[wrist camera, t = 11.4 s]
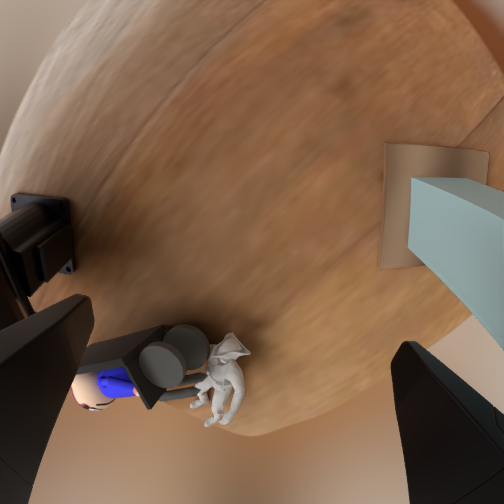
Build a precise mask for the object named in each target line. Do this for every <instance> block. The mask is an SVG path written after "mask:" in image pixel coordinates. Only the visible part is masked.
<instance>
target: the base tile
mask: <svg viewBox="0 0 504 504" xmlns="http://www.w3.org/2000/svg"><path fill="white" fill-rule="evenodd" d="M488 160H489V152H486V151H483V150H475V149H467V148H458V147H448V146H437V145H424V144H408V143H385V142H384V181H383V203H382V219H381V231H380V242H379V252H378V261H377V266H378V267H379V269H390V268H401V267H412V266H422V265H425V264H424V263H423V262H422V261H421V260H420V259H419V258H418V257H417V256H416V255H415V254H414V253H413V252H412V251H411V250H410V249H409V248H408V237H409V224H410V205H411V177H440V178H468V179H470V180H473V181H476V182H479V183H482V184H484V185H486V182H487V172H488Z"/></svg>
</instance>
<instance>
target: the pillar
mask: <svg viewBox="0 0 504 504" xmlns="http://www.w3.org/2000/svg"><path fill="white" fill-rule="evenodd" d="M408 248H409V249H410V250H411V251H412V252H413V253H414V254H415V255H416V256H417V257H418V258H419V259H420V260H421V261H422V262H423V263H424V264H425V265H426V266H427V267H428V268H429V269H430V270H431V271H433V272H434V273H435V274H436V275H437V277H438V278H439V279H440V280H441V281H442V282H443V283H444V284H445V285H446V286H447V287H448V288H449V289H450V290H451V291H452V292H453V293H454V294H455V295H456V296H457V297H458V298H459V299H460V300H461V302H462V303H463V304H464V305H465V306H466V307H467V308H468V309H469V310H470V311H471V312H472V314H473V315H474V316H475V317H476V318H477V319H478V320H479V321H480V323H481V324H482V325H483V326H484V327H485V328H486V330H487V331H488V332H489V333H490V334H491V335H492V337H493V338H494V339H495V340H496V341H497V343H498V344H499V345H500V346H501V347H502V349H503V350H504V192H503V191H500V190H497V189H495V188H492V187H490V186H487V185H484V184H482V183H479V182H476V181H473V180H470V179H468V178H440V177H411V205H410V224H409V237H408Z"/></svg>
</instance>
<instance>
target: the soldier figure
mask: <svg viewBox="0 0 504 504" xmlns="http://www.w3.org/2000/svg"><path fill="white" fill-rule="evenodd" d="M209 345H210V353H209V359H208V361H209V363H208V366H207V368H206V373H207V374H206V375H209V376H208V377H207V378H206V379H205V380H204V381H203V382H198V383H197V384H196V385H195V387H196V388H198V389H201V391H200V392H199V393H198V394H197V395H198V396H199V399H197V400H194V401H193V402H192V403H191V404H190V407H191V408H198V407H199V406H200V405H203V404H207V403H209V399H208V396H207V392H206V391H208V390H209V388H211V387H214V389H215V391H214V396H213V400H212V412H213V413H214V416H212V417H210V418H208V419H207V420H206V421H205V423H204V425H205V426H206V427H210V426H212V425H213V424H214V423H215V422H217V421H218V420H221V419H222V416H223V415H224V417H223V419H222V420H221V421H220V422H219V423H221V422H222V423H221V424H223V425H225V424H228V423H229V422H230V421H231V420H232V418H233V417H234V415H235V413H236V412H237V411H238V409H239V406H240V404H241V402H242V400H243V397H244V393H245V387H244V380H243V379H244V378H243V374H242V373H243V372H242V370H241V368H240V367H239V365H238V364H237V362H236V361H235V360H236V359H237V358H238V357H239V356H242V355H250V354H251V353H250V351H249V350H247V349H246V348H245V347H244V346H243V345H242V344H241V342H240V341H239V340H238V339H237V338H236V337H235V335H234V334H233V332H232V333H229V334H226V336H225V338H224V340H223V341H222V342H221V343H219V344H218V345H215V344H212V345H211V344H209ZM232 388H234V390H235V392H234V395H233V399H232V402H231V407H230V410H229V411H228V412H226V413H223V414H222V412H223V409H224V405H225V403H226V401H227V399H228V397H229V395H230V393H231V391H232Z"/></svg>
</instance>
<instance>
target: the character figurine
mask: <svg viewBox="0 0 504 504" xmlns="http://www.w3.org/2000/svg"><path fill="white" fill-rule="evenodd" d="M209 353H210V345H209V342H208V339H207V337H206V336H205V335H204V333H203V332H202V331H201V330H199V329H198V328H196V327H194V326H192V325H188V324H180V325H176V326H174V327H173V328H172V329H171V330H170V331H168V332H166V331H165V330H164V328H163V326H162V325H161V326H158V327H154V328H151V329H147V330H144V331H140V332H137V333H133V334H129V335H126V336H122V337H118V338H115V339H111V340H107V341H103V342H99V343H96V344H92V345H89V346H88V347H86V349H85V352H84V355H83V358H82V361H81V364H80V366H79V369H78V372H77V374H76V376H75V378H74V381H73V383H72V385H71V387H70V389H69V393H70V395H71V397H72V398H73V399H74V401H75V402H76V403H77V404H78V405H80V406H81V407H83V408H85V409H88V410H94V411H96V410H102V409H105V408H106V407H108V406H110V405H111V404H112V403H113V402H114V400H115V398H121V397H130V396H139V397H141V399H142V401H143V403H144V404H145V406H146V408H147V409H152V407H153V406H154V405H155V403H156V402H157V401H158V400H159V401H168V400H175V399H182V398H188V397H194V396H196V395H197V394H198V393H199V392H200V391H201V389H198V388H196V387H193V386H192V387H188V388H182V389H176V390H170V391H166V389H167V388H173V387H175V386H180V385H186V384H191V383H196V382H203V381H204V380H205V379H206V378H207V377H208V376H209V375H206V374H203V373H201V372H199V373H195V374H190V375H185V374H186V371H187V370H194V369H197V368H199V367H201V366H202V365H203V364H204V362H205V361H206V359H207V358H208V356H209Z"/></svg>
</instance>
